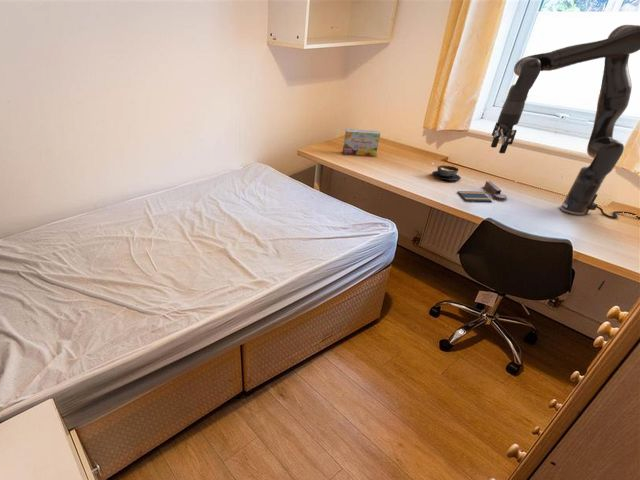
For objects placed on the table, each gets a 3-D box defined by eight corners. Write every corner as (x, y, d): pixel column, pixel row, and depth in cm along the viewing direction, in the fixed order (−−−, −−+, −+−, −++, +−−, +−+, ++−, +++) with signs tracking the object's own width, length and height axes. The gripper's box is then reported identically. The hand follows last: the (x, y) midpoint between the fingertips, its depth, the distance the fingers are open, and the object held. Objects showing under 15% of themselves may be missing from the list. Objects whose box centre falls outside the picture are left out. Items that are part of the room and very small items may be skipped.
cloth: (481, 193, 194) (482, 191, 194) (491, 202, 185) (492, 200, 185) (457, 192, 195) (457, 190, 195) (465, 201, 186) (466, 199, 186)
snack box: (342, 154, 247) (345, 130, 239) (342, 151, 252) (345, 128, 243) (375, 157, 242) (380, 133, 234) (375, 154, 247) (380, 130, 238)
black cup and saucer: (452, 184, 204) (457, 171, 200) (424, 176, 214) (427, 163, 209) (464, 177, 212) (469, 164, 208) (436, 170, 222) (440, 157, 218)
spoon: (480, 186, 201) (482, 181, 199) (491, 187, 201) (493, 181, 199) (496, 200, 187) (498, 194, 185) (507, 200, 186) (510, 194, 185)
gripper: (529, 115, 152) (514, 155, 161) (513, 107, 164) (499, 145, 173) (509, 115, 153) (495, 155, 162) (494, 107, 164) (482, 145, 174)
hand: (497, 150), depth 167 cm, fingers open, 8 cm apart
